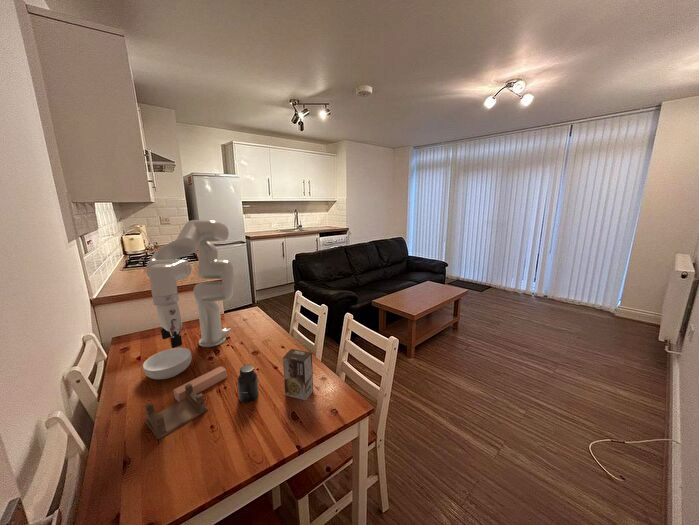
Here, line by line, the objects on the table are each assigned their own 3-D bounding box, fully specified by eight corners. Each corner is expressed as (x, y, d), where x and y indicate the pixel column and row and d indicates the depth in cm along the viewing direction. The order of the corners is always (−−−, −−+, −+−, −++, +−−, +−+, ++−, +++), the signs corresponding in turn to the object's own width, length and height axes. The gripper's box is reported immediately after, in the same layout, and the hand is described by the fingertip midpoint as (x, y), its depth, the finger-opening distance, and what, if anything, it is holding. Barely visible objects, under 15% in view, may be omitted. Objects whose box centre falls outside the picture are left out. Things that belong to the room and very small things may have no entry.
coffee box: (313, 390, 105) (312, 352, 101) (306, 401, 99) (304, 361, 95) (293, 384, 108) (291, 347, 104) (284, 395, 102) (282, 356, 98)
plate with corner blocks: (193, 396, 101) (191, 381, 100) (207, 410, 94) (205, 394, 93) (145, 421, 89) (142, 405, 88) (157, 439, 83) (154, 422, 81)
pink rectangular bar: (221, 374, 114) (220, 365, 113) (227, 378, 112) (226, 369, 111) (175, 398, 100) (173, 389, 99) (179, 403, 98) (178, 394, 97)
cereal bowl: (174, 358, 125) (172, 344, 123) (202, 365, 120) (200, 351, 118) (135, 380, 109) (132, 365, 108) (165, 390, 104) (162, 374, 102)
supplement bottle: (240, 406, 96) (237, 376, 94) (238, 394, 102) (235, 365, 100) (260, 399, 99) (257, 370, 97) (257, 388, 105) (254, 360, 103)
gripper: (186, 300, 95) (192, 345, 98) (169, 290, 106) (174, 331, 109) (161, 307, 89) (169, 354, 93) (145, 295, 100) (152, 338, 103)
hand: (172, 342), depth 101 cm, fingers open, 9 cm apart
